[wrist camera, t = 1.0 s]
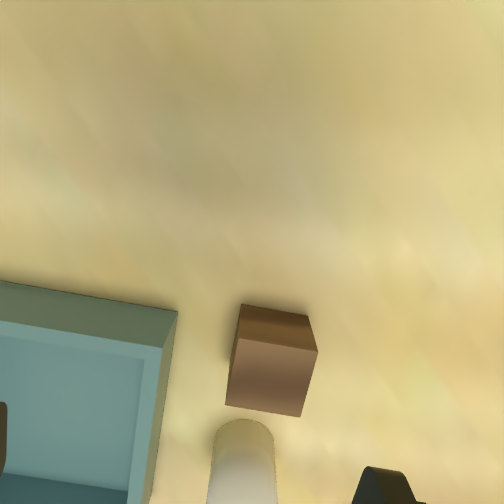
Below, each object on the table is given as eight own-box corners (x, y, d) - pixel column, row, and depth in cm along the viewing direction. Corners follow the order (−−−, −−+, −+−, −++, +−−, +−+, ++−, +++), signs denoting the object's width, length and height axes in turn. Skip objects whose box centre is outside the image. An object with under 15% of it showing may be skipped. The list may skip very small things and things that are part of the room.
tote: (-15, 278, 28) (-70, 308, 23) (178, 311, 29) (162, 348, 24) (-12, 470, 33) (-56, 527, 28) (151, 495, 34) (133, 554, 29)
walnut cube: (241, 303, 28) (238, 337, 24) (307, 315, 29) (318, 352, 24) (229, 361, 30) (225, 405, 25) (293, 372, 30) (300, 417, 25)
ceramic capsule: (219, 414, 31) (209, 491, 25) (279, 424, 32) (286, 503, 25) (209, 462, 33) (198, 547, 26) (267, 471, 33) (270, 558, 26)
